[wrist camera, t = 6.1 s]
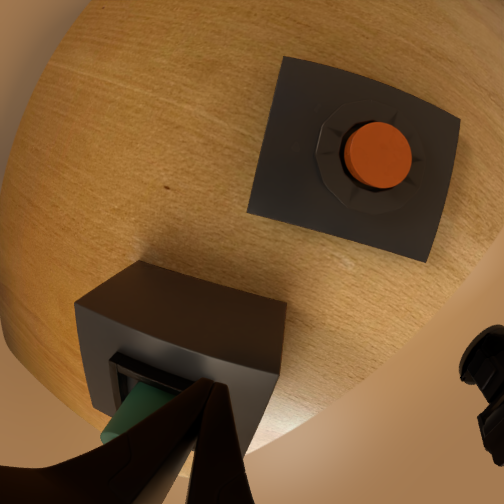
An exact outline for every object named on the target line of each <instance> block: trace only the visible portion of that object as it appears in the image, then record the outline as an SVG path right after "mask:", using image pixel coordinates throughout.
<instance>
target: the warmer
mask: <svg viewBox="0 0 504 504" xmlns="http://www.w3.org/2000/svg"><path fill="white" fill-rule="evenodd" d="M74 307H75V316H76V324H77V332H78V339H79V345H80V351H81V356H82V362H83V367H84V372H85V376H86V381H87V385H88V389H89V393H90V397H91V401H92V405H93V407H94V408H95V409H97V410H99V411H101V412H103V413H104V414H106V415H108V416H110V417H113V416H114V414H115V413H116V412H117V410H118V409H119V407H120V406H121V405H122V403H123V402H124V400H125V399H126V397H127V396H128V395H129V393H130V392H131V390H132V389H133V388H134V386H135V385H136V384H137V383H138V382H142V383H145V384H147V385H149V386H152V387H154V388H157V389H159V390H162V391H164V392H167V393H170V394H172V395H175V396H177V395H179V394H180V393H181V392H183V391H184V390H185V389H187V388H188V387H189V386H191V385H192V384H194V383H195V382H196V381H197V380H199V379H200V378H202V377H204V378H207V379H210V380H213V381H214V383H215V382H220V383H223V384H227V385H228V387H229V393H230V398H231V404H232V409H233V414H234V419H235V424H236V429H237V434H238V439H239V444H240V448H241V453H242V458H244V456H245V454H246V451H247V449H248V447H249V445H250V443H251V441H252V439H253V436H254V434H255V432H256V430H257V428H258V425H259V423H260V421H261V419H262V416H263V414H264V412H265V409H266V407H267V405H268V403H269V400H270V398H271V395H272V393H273V391H274V388H275V386H276V383H277V381H278V378H279V376H280V369H281V360H282V350H283V340H284V330H285V319H286V308H287V303H285V302H281V301H278V300H274V299H270V298H266V297H262V296H259V295H255V294H251V293H247V292H244V291H240V290H236V289H233V288H229V287H226V286H222V285H219V284H215V283H212V282H208V281H205V280H201V279H198V278H194V277H191V276H188V275H184V274H181V273H178V272H174V271H171V270H168V269H164V268H161V267H158V266H155V265H152V264H148V263H145V262H142V261H139V260H138V261H136V262H135V263H133V264H132V265H130V266H129V267H127V268H125V269H124V270H122V271H121V272H119V273H118V274H116V275H114V276H113V277H111V278H110V279H108V280H107V281H105V282H104V283H102V284H101V285H99V286H98V287H96V288H95V289H93V290H92V291H90V292H89V293H87V294H86V295H84V296H83V297H81V298H80V299H78V300H77V301H75V302H74ZM196 442H197V440H196ZM196 442H195V444H194V446H193V448H192V451H195V447H196Z"/></svg>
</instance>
